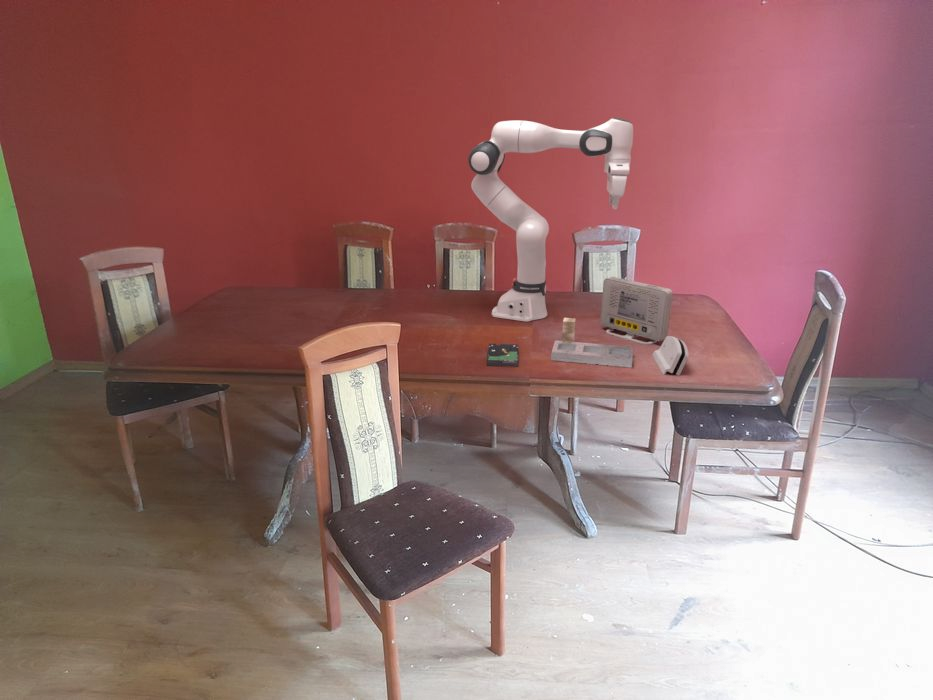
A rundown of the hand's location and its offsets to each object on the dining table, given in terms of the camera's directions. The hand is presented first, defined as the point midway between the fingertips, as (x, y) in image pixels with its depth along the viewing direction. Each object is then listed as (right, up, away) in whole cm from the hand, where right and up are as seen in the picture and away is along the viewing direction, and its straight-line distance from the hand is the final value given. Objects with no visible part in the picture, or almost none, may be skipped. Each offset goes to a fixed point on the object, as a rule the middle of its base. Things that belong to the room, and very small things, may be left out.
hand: (613, 207), depth 217 cm
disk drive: (-41, -55, -15) cm, 70 cm away
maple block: (-17, -50, -4) cm, 53 cm away
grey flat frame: (-11, -54, -16) cm, 58 cm away
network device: (+7, -47, +3) cm, 48 cm away
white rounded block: (+13, -57, -21) cm, 62 cm away
